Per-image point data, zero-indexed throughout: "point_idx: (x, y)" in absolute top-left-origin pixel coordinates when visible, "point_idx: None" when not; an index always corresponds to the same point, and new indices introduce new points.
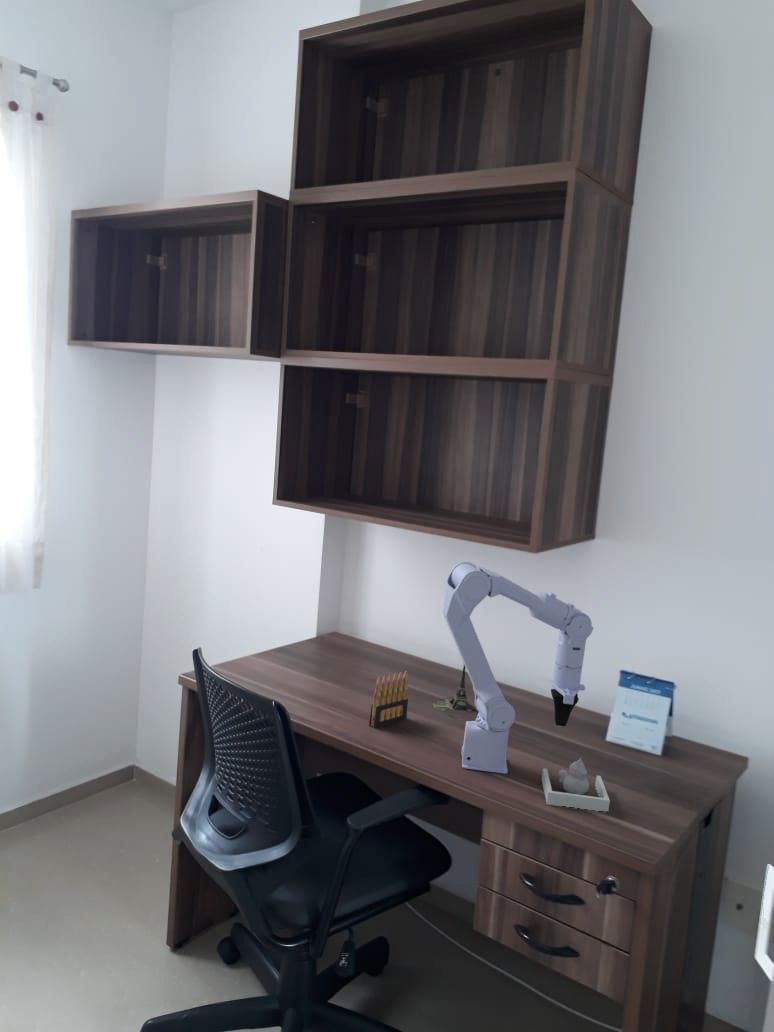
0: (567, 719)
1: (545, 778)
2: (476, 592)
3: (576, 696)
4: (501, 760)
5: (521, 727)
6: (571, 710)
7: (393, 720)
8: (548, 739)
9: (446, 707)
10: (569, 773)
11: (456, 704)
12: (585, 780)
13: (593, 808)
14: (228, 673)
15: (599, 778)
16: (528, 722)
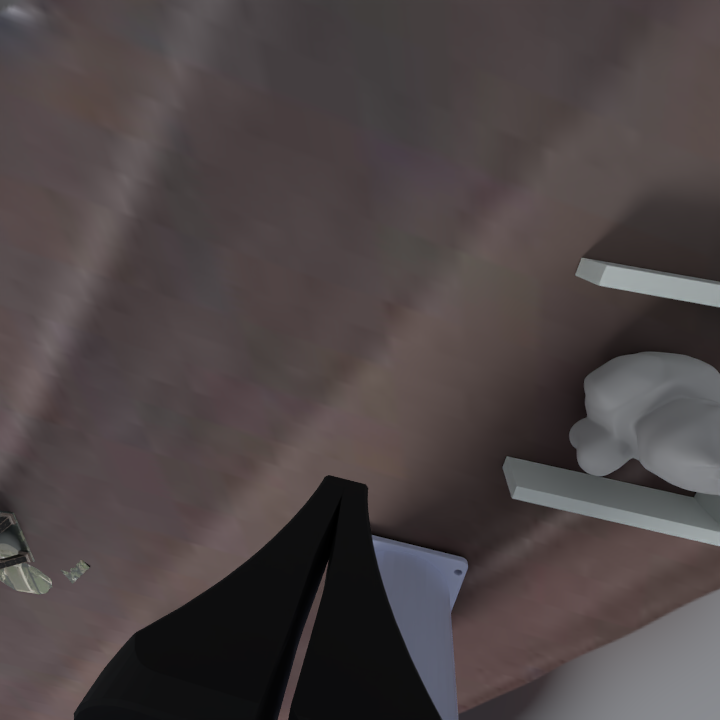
0: (368, 522)
1: (608, 520)
2: None
3: (258, 704)
4: (442, 598)
5: (66, 398)
6: (388, 600)
7: None
8: (134, 329)
9: (25, 568)
10: (626, 444)
11: (7, 560)
12: (709, 392)
13: None
14: None
15: (637, 282)
16: (6, 359)
